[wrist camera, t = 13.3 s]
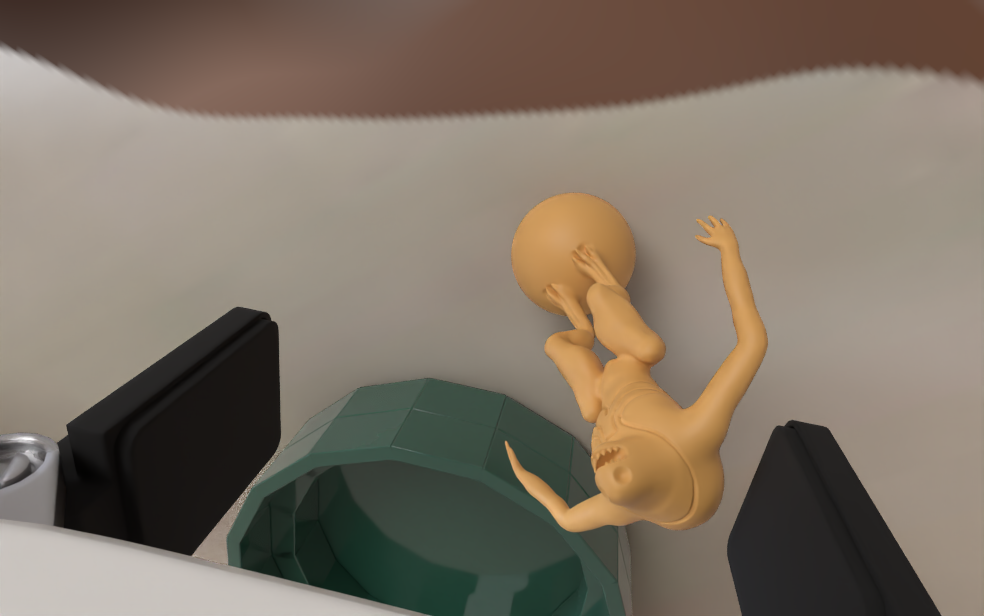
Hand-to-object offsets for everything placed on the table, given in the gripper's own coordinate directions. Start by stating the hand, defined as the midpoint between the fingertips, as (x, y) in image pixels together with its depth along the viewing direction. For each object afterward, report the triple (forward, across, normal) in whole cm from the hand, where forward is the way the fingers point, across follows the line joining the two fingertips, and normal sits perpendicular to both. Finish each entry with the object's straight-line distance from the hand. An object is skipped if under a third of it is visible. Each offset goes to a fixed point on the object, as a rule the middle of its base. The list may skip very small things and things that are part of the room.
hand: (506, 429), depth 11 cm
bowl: (+11, +2, +14) cm, 18 cm away
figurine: (+11, -2, 0) cm, 12 cm away
